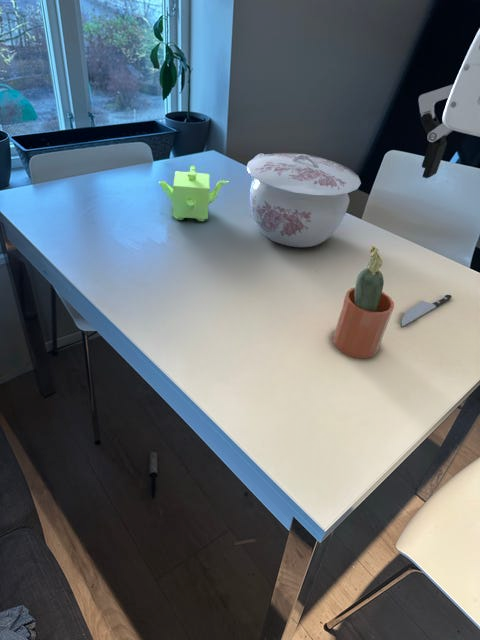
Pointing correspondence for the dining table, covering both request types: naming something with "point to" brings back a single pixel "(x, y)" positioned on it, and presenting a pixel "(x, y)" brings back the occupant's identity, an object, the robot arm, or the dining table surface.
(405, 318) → the chef's knife
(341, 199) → the chamber pot
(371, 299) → the vegetable
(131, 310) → the dining table surface
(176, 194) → the kettle
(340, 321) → the cup
